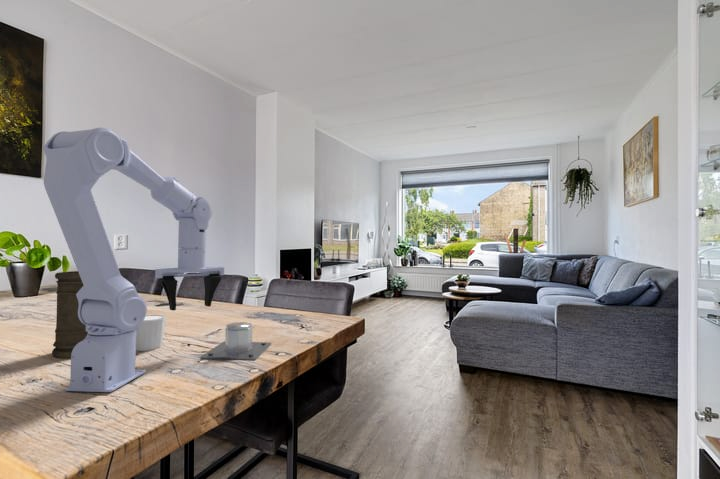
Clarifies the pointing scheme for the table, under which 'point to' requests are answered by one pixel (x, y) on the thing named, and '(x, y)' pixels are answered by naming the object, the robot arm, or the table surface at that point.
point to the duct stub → (252, 354)
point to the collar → (238, 337)
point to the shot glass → (150, 333)
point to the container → (68, 315)
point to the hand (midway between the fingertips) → (190, 307)
